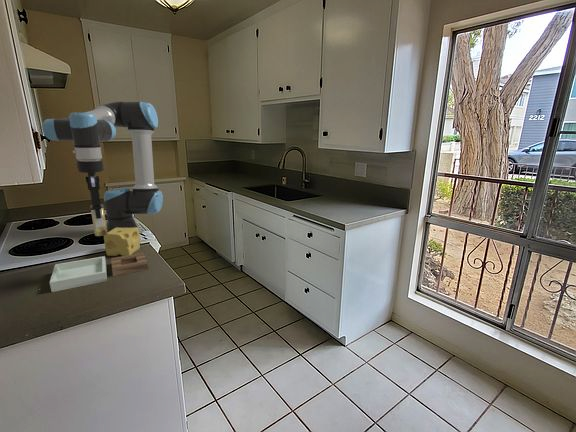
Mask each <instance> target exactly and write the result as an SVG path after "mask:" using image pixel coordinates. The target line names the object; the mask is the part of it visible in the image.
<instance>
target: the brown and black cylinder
mask: <svg viewBox="0 0 576 432" xmlns="http://www.w3.org/2000/svg"><path fill="white" fill-rule="evenodd" d="M101 206H102V214H103V220H104V226H103V227H95V221H94V214H93V210H91V209H90V213H91V218H92V225H93V231H94V232H93V233H94V236H95V237H104V235H107V234H108V233H107V226H106V225H107V220H106V219H107V218H106V212H105V205H104V203H103V204H101ZM89 207H90V208H92V207H93V205H92V204H91V205H90V206H89Z"/></svg>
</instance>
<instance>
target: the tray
mask: <svg viewBox="0 0 576 432" xmlns="http://www.w3.org/2000/svg"><path fill="white" fill-rule="evenodd" d="M107 276H108V274H107V260H106V256H105V255H104V256H103V255H102V256H98V257H92V258H87V259H86V258H85V259H80V260H74V261H69V262H68V261H67V262H63V263H61V262H60V263H56V264H55V265H54V267H53V270H52V275H51V276H50V280H49V287H50V290H51V293H54V292H59V291H64V290H69V289H74V288H79V287H84V286H89V285H95V284H99V283H104V282H108V277H107Z"/></svg>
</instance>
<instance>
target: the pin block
mask: <svg viewBox="0 0 576 432" xmlns="http://www.w3.org/2000/svg"><path fill="white" fill-rule="evenodd" d="M110 262H111V271H112V277H117V276H122V275H127V274H132V273H136V272H142V271H148V270H149V265H148V261H147V258H146V256H145V252H140V253H134V254H132V255H128V256H117V257H111V259H110Z"/></svg>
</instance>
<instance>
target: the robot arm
mask: <svg viewBox="0 0 576 432" xmlns="http://www.w3.org/2000/svg"><path fill="white" fill-rule="evenodd" d="M41 126H42V127H41V129H42V132H43V136H44V137H45V138H47V139H48V140H50V141H58V142H60V141H63V142H64V141H72V142H73V147H74V150H72V153H73V154H75V159H76V160H77V162H76V165H77V171H78V172H79V173H83V174H84V173H87V176H85V182H86V184H87V190H89V192H90V199H91V205H93V207H92V208H91V207H90V211H91V210H93V214H94V221H95V227H103V226H104V220H103V214H102V206H101V204H103V205H104V209H105V216H106V219H107V220H106V226H107V233H108V232H109V231H111V230H113V229H114V228H134V227H138V228H139V226H138V225H137V222H136V221H135V218H134V216H133V215H156V214H159V212H161V210H162V206H163V202H164V195H163V192H162V191H161V190H159V188H158V187H159V186H157V185H156V184H155V172H154V156H153V145H152V144H153V143H152V140H153V139H152V135H153V134H154V133H155V129H157V128H158V127H159V119H158V113H157V111H156V109H155V107H154V106H153V104H152V103H150V102H143V101H113V102H109V103H104V104H102V105H98V106H96V107H94V109H92V110H90V111H85V112H71V113H70V114H69V116H68V117H63V118H47V119H45V120H44V121H43V122H42V125H41ZM116 127H117V128H127V131H128V133H130V135H131V142H132V153H133V154H132V155H133V156H132V157H133V165H134V166H133V167H134V180H135V184H134V186H132V190H131V189H130V187H120V188H119V187H117V188H114V189H113V188H112V189H108V190H106V191H105V192H104V193H103V202H104V203H103V202H101V198H100V188H101V187H100V177H99V175H97V174H96V173H101V172H103V171H104V163H103V160H102V159H103V156H102V147H101V143H100V142H108V141H111V140H113V139H114V138H115V137H116V135H117V128H116Z"/></svg>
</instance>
